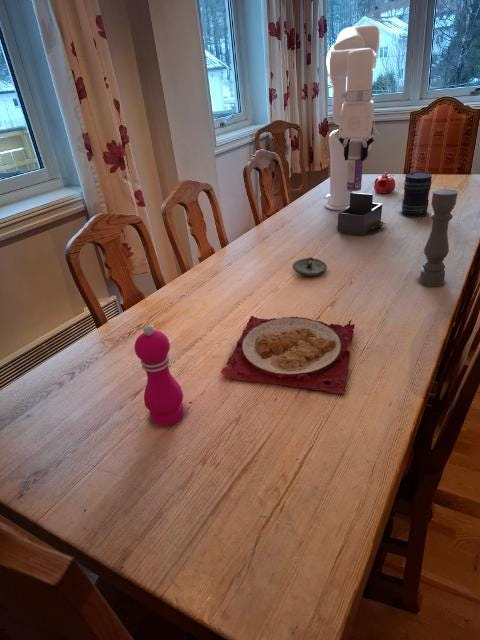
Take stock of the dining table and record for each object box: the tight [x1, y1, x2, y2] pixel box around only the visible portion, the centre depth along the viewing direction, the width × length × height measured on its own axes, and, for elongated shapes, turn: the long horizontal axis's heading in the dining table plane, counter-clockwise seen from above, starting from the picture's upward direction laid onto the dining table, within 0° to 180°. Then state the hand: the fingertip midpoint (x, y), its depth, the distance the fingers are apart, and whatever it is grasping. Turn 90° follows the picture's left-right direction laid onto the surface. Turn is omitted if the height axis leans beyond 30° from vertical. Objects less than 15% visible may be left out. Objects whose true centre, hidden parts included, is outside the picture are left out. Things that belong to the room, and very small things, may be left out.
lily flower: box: [372, 220, 386, 229], centre depth 163 cm, size 12×12×5 cm
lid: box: [292, 257, 328, 277], centre depth 133 cm, size 11×10×5 cm
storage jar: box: [400, 171, 433, 218], centre depth 169 cm, size 10×10×15 cm
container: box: [347, 141, 364, 192], centre depth 140 cm, size 5×5×15 cm
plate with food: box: [220, 315, 356, 395], centre depth 96 cm, size 24×26×4 cm
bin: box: [337, 191, 383, 236], centre depth 160 cm, size 17×10×12 cm, turn 142°
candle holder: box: [419, 188, 458, 288], centre depth 114 cm, size 6×6×25 cm
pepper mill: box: [134, 324, 185, 427], centre depth 77 cm, size 7×7×20 cm
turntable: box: [342, 224, 382, 236], centre depth 164 cm, size 16×16×1 cm
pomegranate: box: [373, 171, 396, 194], centre depth 202 cm, size 10×10×9 cm
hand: (355, 159), depth 139 cm, fingers closed on container, 4 cm apart
